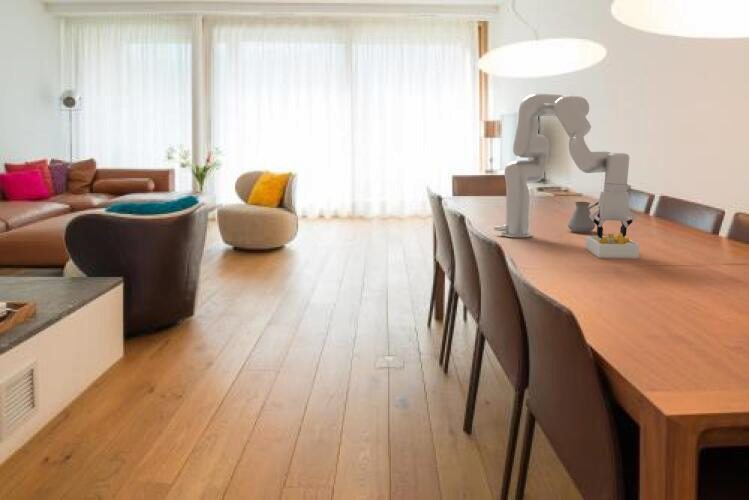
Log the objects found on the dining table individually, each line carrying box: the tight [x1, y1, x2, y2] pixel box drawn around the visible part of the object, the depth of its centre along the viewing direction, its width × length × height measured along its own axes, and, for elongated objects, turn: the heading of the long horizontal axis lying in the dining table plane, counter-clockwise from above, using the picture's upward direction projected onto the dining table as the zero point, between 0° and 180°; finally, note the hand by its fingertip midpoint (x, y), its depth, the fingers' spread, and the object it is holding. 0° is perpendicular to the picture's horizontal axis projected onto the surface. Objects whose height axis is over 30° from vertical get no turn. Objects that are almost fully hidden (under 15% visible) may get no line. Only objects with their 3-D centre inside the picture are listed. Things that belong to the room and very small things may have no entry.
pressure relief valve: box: [599, 232, 630, 244], centre depth 215 cm, size 6×12×10 cm
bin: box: [585, 235, 640, 260], centre depth 220 cm, size 13×17×5 cm
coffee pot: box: [567, 200, 599, 234], centre depth 269 cm, size 21×12×15 cm, turn 113°
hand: (611, 237), depth 220 cm, fingers closed on pressure relief valve, 7 cm apart
